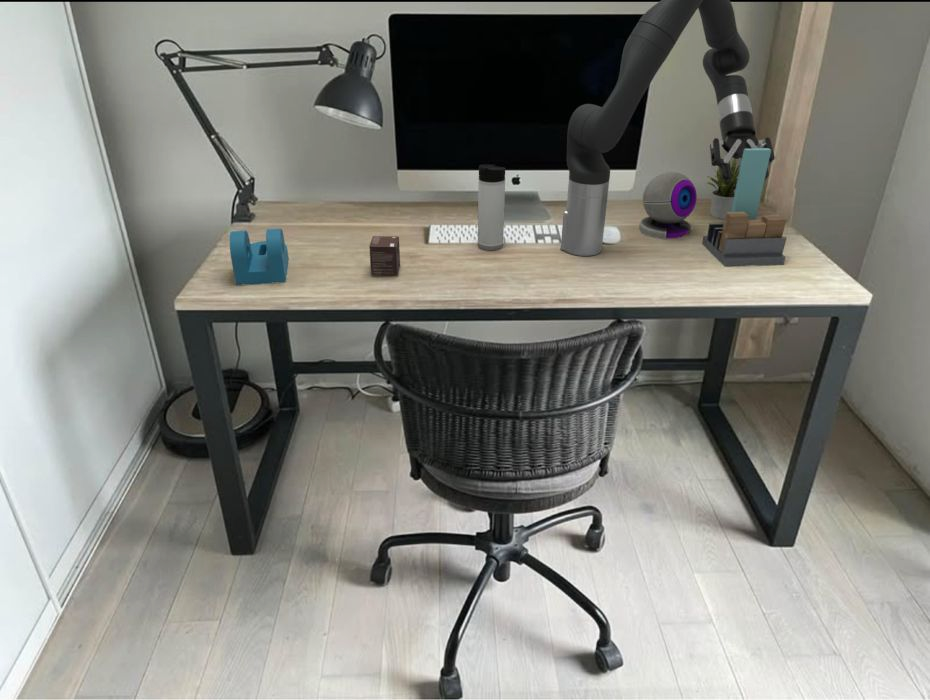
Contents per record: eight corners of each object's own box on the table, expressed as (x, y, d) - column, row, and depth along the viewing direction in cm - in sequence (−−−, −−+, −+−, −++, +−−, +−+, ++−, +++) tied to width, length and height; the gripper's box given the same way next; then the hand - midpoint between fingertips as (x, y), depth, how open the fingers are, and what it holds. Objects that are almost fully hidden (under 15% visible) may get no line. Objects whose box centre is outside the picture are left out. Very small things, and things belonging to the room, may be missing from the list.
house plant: (762, 215, 187) (775, 155, 179) (741, 229, 178) (755, 166, 170) (712, 204, 195) (723, 146, 187) (690, 216, 187) (700, 156, 178)
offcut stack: (718, 249, 161) (726, 212, 157) (772, 247, 162) (781, 210, 158) (723, 253, 159) (731, 216, 154) (778, 252, 160) (787, 215, 155)
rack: (701, 243, 170) (706, 220, 167) (756, 242, 171) (762, 219, 168) (724, 266, 158) (729, 241, 155) (783, 264, 159) (789, 240, 156)
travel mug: (471, 246, 168) (471, 165, 158) (489, 239, 172) (490, 159, 162) (490, 253, 164) (492, 170, 154) (508, 245, 168) (511, 164, 158)
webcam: (664, 242, 170) (674, 183, 163) (628, 227, 180) (635, 170, 172) (700, 232, 176) (711, 174, 169) (663, 218, 186) (671, 162, 178)
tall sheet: (725, 240, 166) (744, 148, 155) (747, 239, 167) (768, 148, 155) (727, 242, 165) (747, 150, 154) (750, 242, 165) (771, 149, 154)
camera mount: (285, 282, 150) (279, 237, 145) (236, 286, 149) (227, 240, 143) (289, 251, 166) (284, 209, 160) (245, 254, 164) (237, 211, 159)
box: (374, 265, 158) (372, 235, 154) (400, 266, 158) (399, 236, 154) (370, 276, 153) (368, 245, 149) (397, 277, 153) (396, 246, 149)
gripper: (713, 110, 160) (723, 172, 156) (772, 109, 161) (783, 171, 157) (700, 128, 168) (710, 188, 163) (757, 127, 168) (768, 187, 164)
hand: (746, 180), depth 160 cm, fingers open, 8 cm apart
